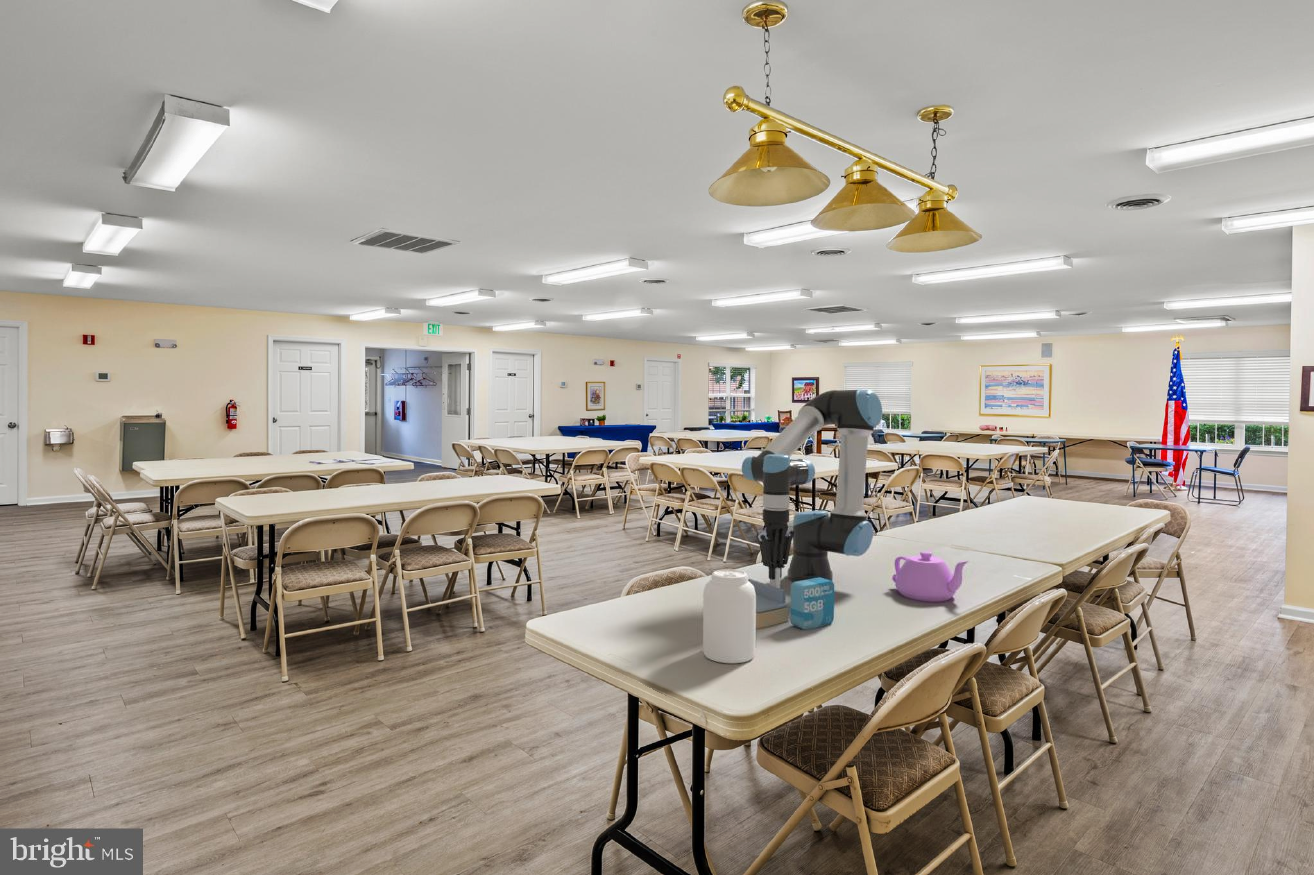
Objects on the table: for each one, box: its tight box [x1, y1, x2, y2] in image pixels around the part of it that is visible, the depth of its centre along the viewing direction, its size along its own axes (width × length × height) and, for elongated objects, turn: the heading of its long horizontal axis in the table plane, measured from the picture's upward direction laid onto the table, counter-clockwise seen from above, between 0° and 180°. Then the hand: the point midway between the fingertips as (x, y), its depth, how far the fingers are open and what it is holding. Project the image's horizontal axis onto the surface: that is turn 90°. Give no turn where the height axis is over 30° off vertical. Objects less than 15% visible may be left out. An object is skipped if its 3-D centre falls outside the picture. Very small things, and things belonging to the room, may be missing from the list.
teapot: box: [892, 550, 969, 603], centre depth 212 cm, size 25×18×14 cm
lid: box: [748, 578, 790, 613], centre depth 191 cm, size 11×17×4 cm, turn 33°
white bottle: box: [702, 568, 757, 664], centre depth 162 cm, size 12×12×20 cm
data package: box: [789, 577, 835, 631], centre depth 184 cm, size 12×4×12 cm, turn 121°
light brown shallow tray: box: [756, 606, 790, 629], centre depth 192 cm, size 11×17×4 cm, turn 33°
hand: (774, 589), depth 196 cm, fingers closed
